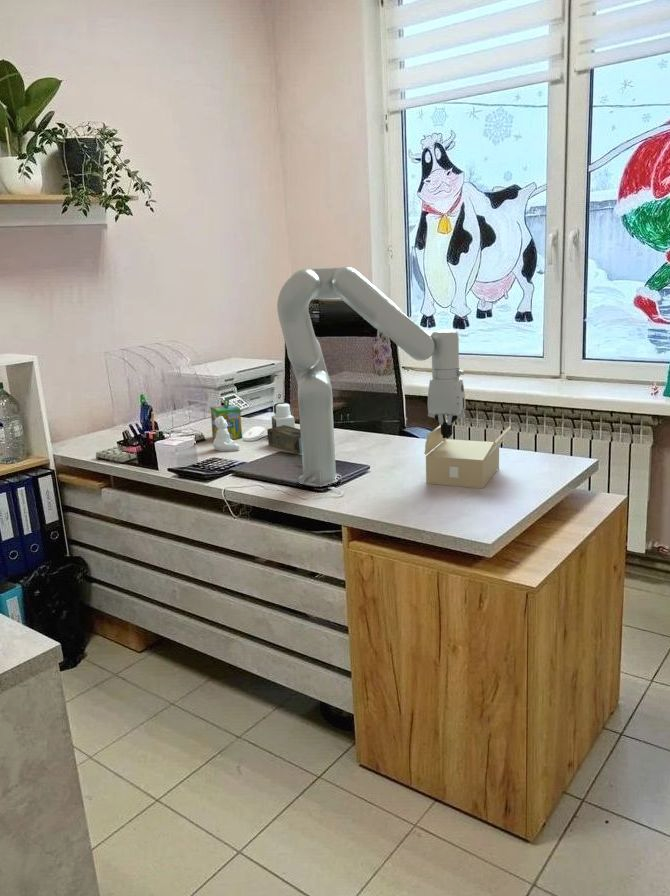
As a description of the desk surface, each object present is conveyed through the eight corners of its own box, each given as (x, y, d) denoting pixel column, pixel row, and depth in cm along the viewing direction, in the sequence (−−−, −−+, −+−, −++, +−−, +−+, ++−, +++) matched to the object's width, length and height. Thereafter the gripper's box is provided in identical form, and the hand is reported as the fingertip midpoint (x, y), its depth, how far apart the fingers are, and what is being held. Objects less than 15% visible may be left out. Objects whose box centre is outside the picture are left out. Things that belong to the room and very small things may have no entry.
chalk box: (212, 437, 272) (208, 398, 268) (235, 433, 275) (232, 395, 272) (219, 442, 264) (215, 402, 260) (243, 438, 267) (240, 399, 264)
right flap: (483, 458, 195) (486, 460, 195) (494, 441, 193) (496, 443, 193) (499, 442, 212) (501, 443, 212) (509, 426, 210) (511, 427, 209)
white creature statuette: (241, 450, 250) (238, 416, 247) (216, 454, 247) (213, 419, 244) (234, 444, 258) (231, 412, 255) (210, 448, 255) (207, 414, 252)
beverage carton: (299, 455, 241) (298, 435, 240) (267, 445, 256) (265, 427, 254) (318, 450, 246) (317, 431, 244) (285, 441, 261) (284, 423, 259)
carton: (482, 488, 197) (482, 460, 195) (426, 483, 204) (425, 456, 202) (499, 468, 215) (499, 442, 213) (446, 464, 221) (446, 439, 219)
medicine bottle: (272, 434, 272) (270, 402, 269) (290, 431, 274) (288, 400, 271) (276, 438, 265) (274, 406, 262) (295, 435, 267) (293, 404, 264)
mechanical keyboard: (128, 467, 238) (126, 457, 237) (91, 461, 249) (90, 451, 248) (209, 441, 268) (208, 432, 267) (173, 437, 279) (172, 428, 278)
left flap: (445, 438, 219) (443, 437, 219) (448, 420, 217) (446, 420, 217) (426, 454, 202) (423, 453, 202) (429, 435, 200) (426, 434, 201)
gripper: (475, 372, 204) (475, 435, 208) (424, 371, 210) (426, 433, 215) (467, 376, 197) (468, 442, 202) (415, 376, 204) (417, 439, 208)
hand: (446, 437), depth 208 cm, fingers closed
